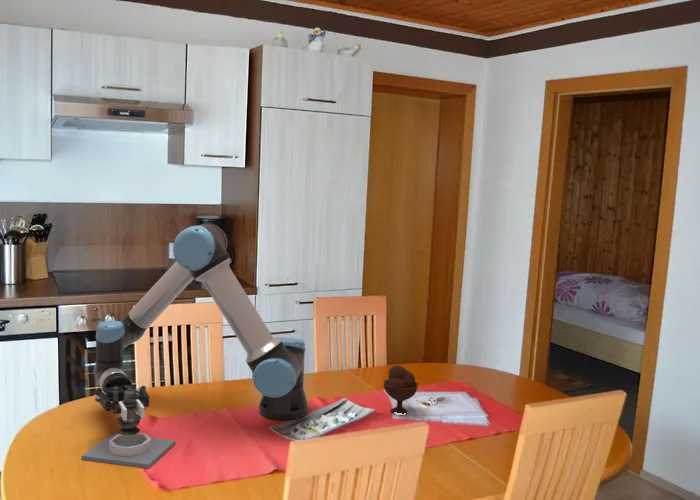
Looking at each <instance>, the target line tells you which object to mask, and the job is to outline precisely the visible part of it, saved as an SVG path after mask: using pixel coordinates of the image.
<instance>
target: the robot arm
mask: <svg viewBox="0 0 700 500" xmlns="http://www.w3.org/2000/svg"><path fill="white" fill-rule="evenodd" d="M227 248H228V238H227V235H226V233H225V232H224V231H223V230H222V229H221V227H219V226H218V225H216V224H214V223H201V224H199V225H190V226H189V227H187V228H185V229H183V230H182V231H180V232H179V234H177V236H176V237H175V239H174V243H173V246H172V253H173V256H174V259H175V262H174V263H173V264H172V265H171V266H170V267H169V269H167V271H166V272H165V273H164V274H163V275H162V276H160V278H159V279H158V281H156V282H155V284H153V286H152V287H151V288H150V289H149V290H148V291H147V292H146V293H145V294H144V295H143V296H142V297H141V299H140V300H138V302H137V303H136V304H135V305H133V307H132V308H131V310H130V311H129V312H128V313H127V314H126V315H125V316H124V317H123V318H122V319H121V320H120V321H119V320H105V321H101V322H99V323H97V325H96V332H95V365H94V368H93V377H94V380H95V382H96V383H97V385H98V386H99V387H100V390H101V391H100V390H96V391H95V393H94V395H95V396H94V397H95V399H94V400H95V402H97V403H99V404H100V406H101V408H103V409H104V411H105V412H111V410H112V411H113V412H112V413H113V415H118V414H119V416H121V417H122V419H123V420H124V421H125V420H127V409H126V407H125V406H124V404H123V402H124V392H125V391H126V390H128V389H129V387H131V389H132V390H134V391H135V392H136V401H135V402H137V404H136V413H137V414H138V415H139V416H140V417H141V419H144V418H145V411H147V410H146V409H147V407H150V395H149V394H148V392H147V387H146V385H142V386H140V387H138V388H137V387H136V386H134V385H133V383H132V382H131V379H129V377H128V375H127V374H126V373H125V371H124V351H125V350H124V349H125V348H127V347H128V346H130V345H131V344H133V343H135V342H138V341H139V340H141V338H142V337H143V336H144V335H145V332H146V331H147V329H148V328H149V327H150V326H152V324H153V323H154V322H155V321H156V320H157V319H158V317H159V316H160V315H162V313H163V312H164V311H165V310H166V309H167V308H168V307H169V306H170V305H171V303H173V301H175V300H176V298H177V297H178V296H180V295H181V293H182V292H183V291H184V290H185V289H186V288H187V287H188V286H189V285H190V284H191V283H192V281H193V280H194V281H196V282H201V283H202V284H203V285H204V286H205V288H206V290H207V292H208V293H209V295H210V297H211V298H212V300H214V303H215V304H216V305H217V308H218V309H219V311H220V312H221V314H222V315H223V317H224V319H225V320H226V322H227V323H228V325H229V327H230V329H231V330H232V332H233V333H234V335H235V336H236V338H237V339H238V341H239V343H240V344H241V346H242V347H243V350H245V353H246V359H245V363H246V364H247V366H248V368H249V370H251V373H252V381H253V386H254V388H255V389H256V390H257V391H258V393H259V394H261V398H260V401H259V405H258V413H259V415H261V416H263V417H265V418H268V419H271V420H278V421H287V420H288V421H289V420H290V421H291V420H296V419H295V418H297V417H300V416H303V415H305V416H307V414H308V413H309V403H308V399H307V396H306V392H305V388H304V379H305V357H306V356H305V353H306V347H305V345H306V343H305V341H304V340H303V339H302V338H301V339H300V338H297V337H280V336H279V337H274V336H273V335H272V333H271V332H270V330H269V329H268V327H267V325H266V324H265V322H264V321H263V319H262V317H261V315H260V314H259V312H258V311H257V308H255V306H254V304H253V303H252V301H251V299H250V298H249V296H248V295H247V292H246V291H245V289H244V288H243V286H242V284H241V283H240V282H239V280H238V278H237V277H236V276H235V273H234V272H233V270H232V268H231V266H230V263H231V257H230V256H229V253H228V252H227ZM303 417H304V416H303ZM297 419H298V418H297Z"/></svg>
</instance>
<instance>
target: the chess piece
mask: <svg viewBox="0 0 700 500" xmlns="http://www.w3.org/2000/svg"><path fill="white" fill-rule="evenodd" d="M136 394H137V393H136V392H135V391H134V390H132V389H131V387H129V389H128V390H126V391H125V392H124V401H122V403H123V404H124V406H125V407H126V409H127V420H125V421H124V420H123V419H122V417H121V415H119V416H118V417H117V422H118V425H119V427H121V428H120V429H118V431H117V434H121V435H134V434H137V433H141V432H140V431H141V429H140V428H139V427H138V426H139V424H140V421H141V419H142V418H141V417H140V416H139V414H138V413H137V411H136V404H137V402H135V401H136Z"/></svg>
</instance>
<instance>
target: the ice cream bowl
mask: <svg viewBox="0 0 700 500" xmlns="http://www.w3.org/2000/svg"><path fill="white" fill-rule="evenodd" d="M387 378H388V379H384V381H383V388H384V391H385V393H386V394H387V396H389V397H391V399H394V400H395V401H396V406H395V407H393V408H391V410H390V413H391V414H392V415H394V414H393V413H394V412H397V413H402V414H404V413H407V411H408V410H407V409H405V408H404V407H403V403H404V401H407V400H409V399H411V398H412V397H414V396H415V395H416V393H417V390H418V386H419V382H417V381H416V378H415V375H414V373H413V372H411V371H410V370H408V369H405V368H404V367H403V366H401V365H397V364H395V365H393V366H391V367H390V368H389V369H388V377H387Z"/></svg>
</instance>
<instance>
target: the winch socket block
mask: <svg viewBox="0 0 700 500" xmlns="http://www.w3.org/2000/svg"><path fill="white" fill-rule="evenodd" d="M175 445H176V440H173V439H164V438H157V437H156V438H155V437H150V436H149V435H148V434H147V433H144V432H139V433H137V434H134V435H121V434H119V433H118V432H117V433H115V432H114V433H111V434H110V435H109V436H106V438H104V439H102V440H101V441H99V443H97V444H96V445H94V446H93V447H92V448H90V449H89V450H87V451H85V453H84V454H81V460H82V461H90V462H97V463H104V464H112V465H113V464H114V465H120V466H128V467H135V468H143V469H150V468H151V467H152V466H153V465H154V464H155V463H156V462H157V461H159V460H160V459H161V458H162V457H163V456H164V455H165V454H166V453H167V452H168V451H169V450H171V449H172V448H173V447H174V446H175Z"/></svg>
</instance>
